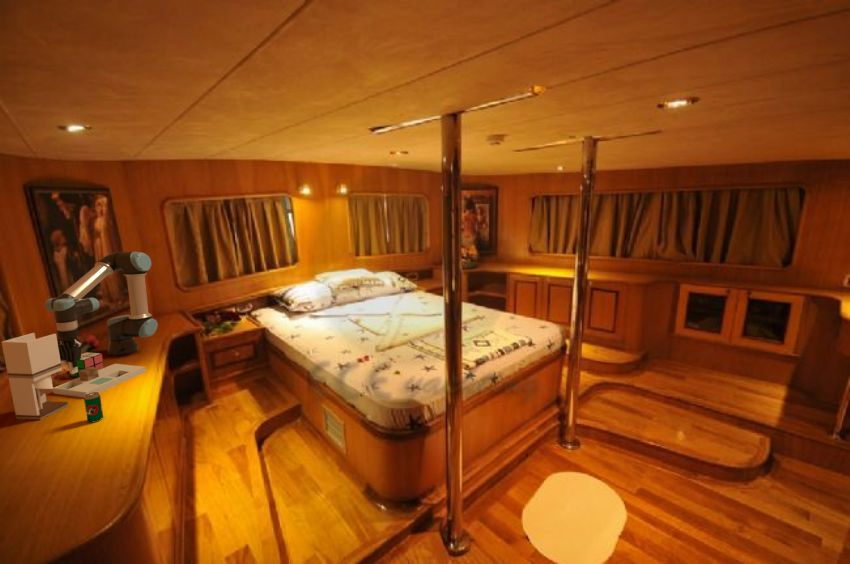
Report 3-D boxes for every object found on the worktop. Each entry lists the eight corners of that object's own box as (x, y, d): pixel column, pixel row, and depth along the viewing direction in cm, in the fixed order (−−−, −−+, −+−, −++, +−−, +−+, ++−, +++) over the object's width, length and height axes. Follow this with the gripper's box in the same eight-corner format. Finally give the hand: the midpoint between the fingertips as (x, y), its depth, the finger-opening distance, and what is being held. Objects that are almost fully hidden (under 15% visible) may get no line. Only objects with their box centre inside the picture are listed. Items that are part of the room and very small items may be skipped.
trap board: (115, 368, 201) (115, 363, 200) (145, 371, 198) (145, 366, 197) (53, 393, 172) (52, 387, 171) (87, 398, 169) (86, 392, 168)
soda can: (106, 418, 153) (102, 392, 151) (92, 424, 148) (88, 398, 146) (98, 415, 155) (95, 390, 152) (84, 421, 150) (80, 396, 148)
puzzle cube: (104, 369, 199) (102, 353, 197) (86, 377, 189) (83, 360, 187) (88, 368, 200) (86, 352, 198) (69, 376, 190) (66, 359, 188)
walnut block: (90, 375, 185) (89, 367, 184) (98, 376, 184) (97, 367, 183) (80, 380, 180) (78, 371, 179) (88, 381, 179) (87, 372, 178)
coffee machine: (40, 420, 150) (26, 342, 144) (16, 419, 150) (1, 341, 144) (68, 406, 161) (56, 333, 155) (45, 405, 162) (32, 332, 155)
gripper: (48, 330, 175) (55, 374, 179) (69, 332, 173) (76, 377, 177) (65, 326, 182) (72, 368, 186) (86, 328, 180) (92, 371, 184)
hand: (74, 372), depth 181 cm, fingers closed
